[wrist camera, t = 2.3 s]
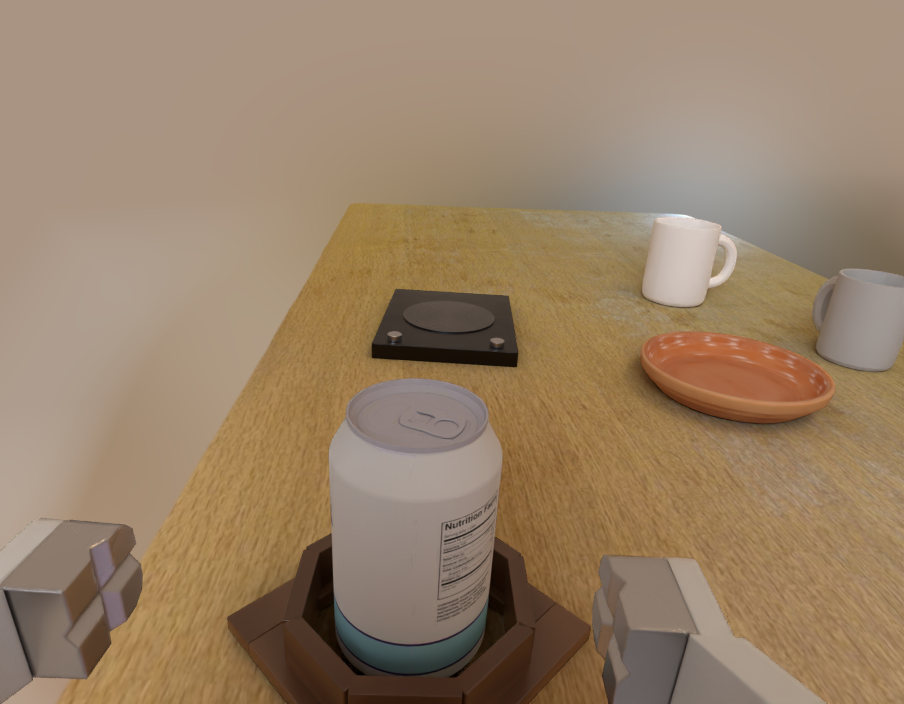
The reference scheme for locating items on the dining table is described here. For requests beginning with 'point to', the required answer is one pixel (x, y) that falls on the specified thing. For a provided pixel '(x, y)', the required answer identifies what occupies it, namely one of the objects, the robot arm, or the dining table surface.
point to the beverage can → (413, 527)
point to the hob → (447, 328)
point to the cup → (860, 319)
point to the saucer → (736, 376)
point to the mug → (684, 261)
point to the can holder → (398, 697)
